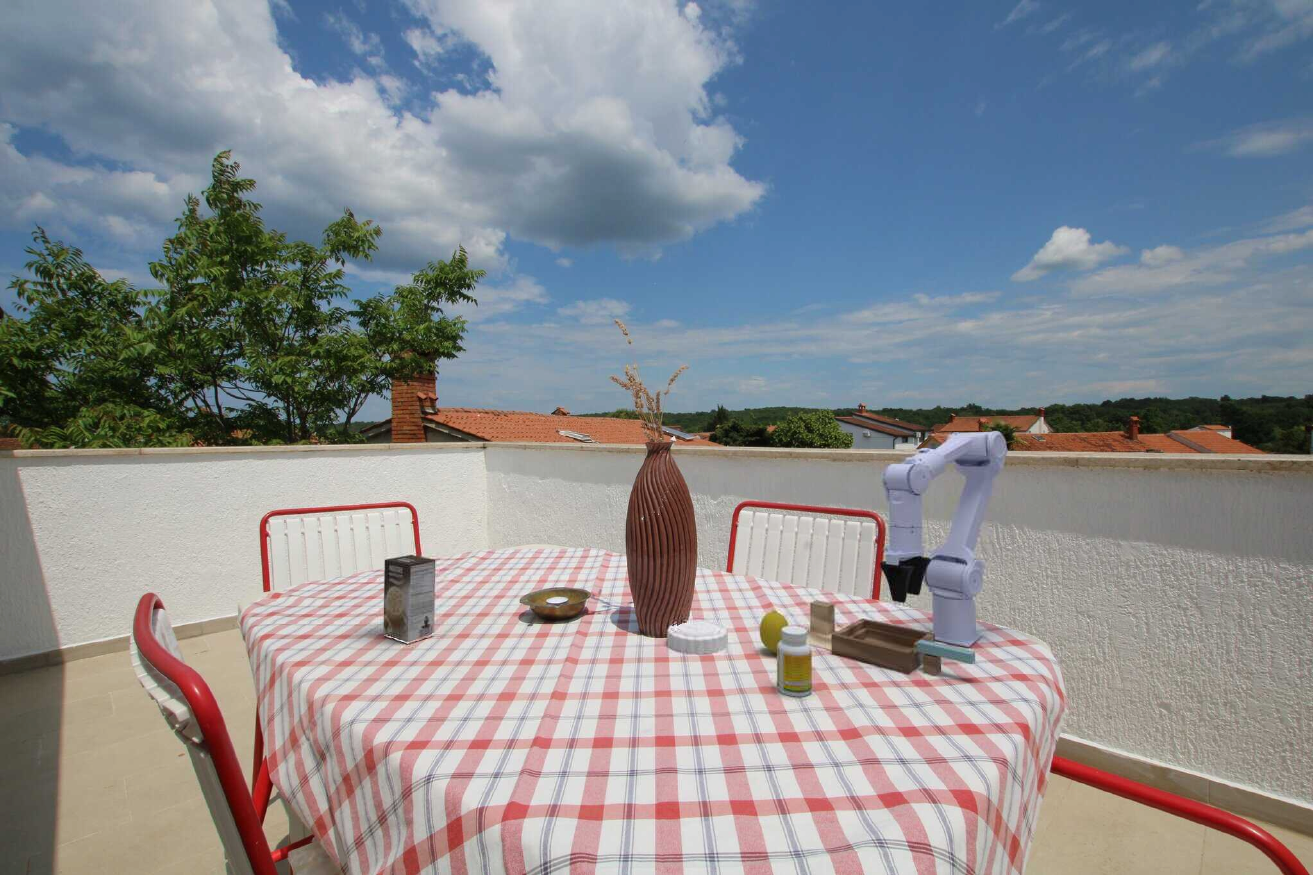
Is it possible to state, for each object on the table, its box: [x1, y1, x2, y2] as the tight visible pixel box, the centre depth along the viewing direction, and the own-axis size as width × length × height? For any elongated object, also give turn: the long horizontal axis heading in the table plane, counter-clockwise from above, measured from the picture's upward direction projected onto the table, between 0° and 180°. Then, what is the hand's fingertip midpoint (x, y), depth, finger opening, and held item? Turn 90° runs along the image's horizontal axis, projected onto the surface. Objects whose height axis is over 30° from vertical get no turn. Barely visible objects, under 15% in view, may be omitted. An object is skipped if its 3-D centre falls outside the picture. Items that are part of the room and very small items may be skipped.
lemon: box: [759, 610, 790, 654], centre depth 103 cm, size 6×6×8 cm
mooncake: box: [666, 619, 729, 656], centre depth 109 cm, size 12×12×4 cm
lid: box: [802, 599, 838, 652], centre depth 112 cm, size 11×11×7 cm
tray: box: [831, 618, 942, 677], centre depth 102 cm, size 14×18×4 cm
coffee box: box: [382, 554, 436, 642], centre depth 113 cm, size 9×6×16 cm
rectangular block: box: [917, 640, 976, 665], centre depth 93 cm, size 2×8×2 cm, turn 46°
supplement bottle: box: [776, 625, 813, 698], centre depth 87 cm, size 5×5×10 cm
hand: (906, 597), depth 104 cm, fingers open, 7 cm apart
